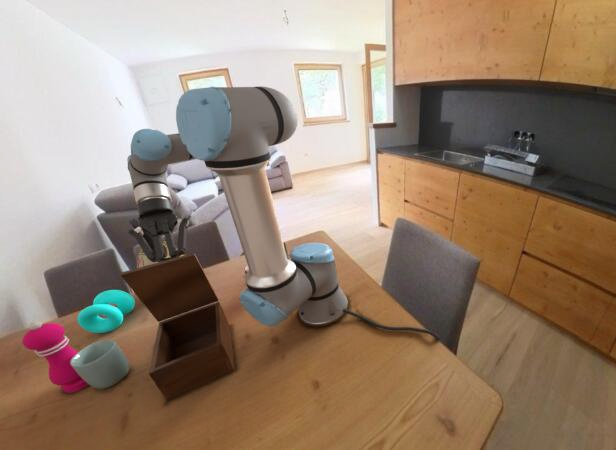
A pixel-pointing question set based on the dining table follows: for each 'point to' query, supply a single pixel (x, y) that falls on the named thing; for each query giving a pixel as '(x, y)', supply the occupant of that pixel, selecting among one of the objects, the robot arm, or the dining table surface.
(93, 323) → the donuts
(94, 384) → the cup
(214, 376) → the chest
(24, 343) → the pepper mill
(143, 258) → the ceramic jug
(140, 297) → the lid
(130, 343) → the dining table surface
